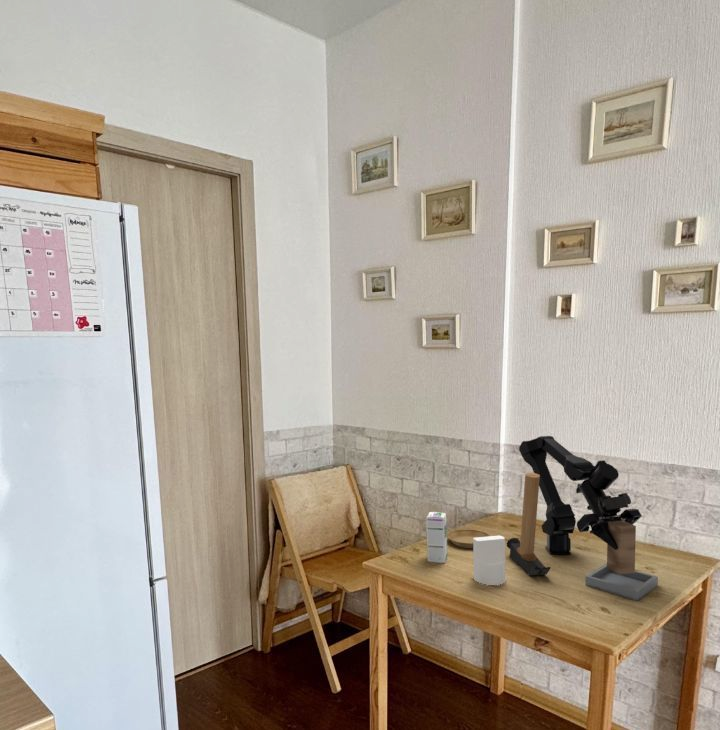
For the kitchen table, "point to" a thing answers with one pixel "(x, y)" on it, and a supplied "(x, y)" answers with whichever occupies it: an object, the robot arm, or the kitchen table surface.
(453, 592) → the kitchen table surface
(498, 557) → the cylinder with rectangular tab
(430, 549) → the syrup box
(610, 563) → the walnut block
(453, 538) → the plant saucer
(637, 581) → the tray
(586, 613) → the kitchen table surface
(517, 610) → the kitchen table surface
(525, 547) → the hammer
